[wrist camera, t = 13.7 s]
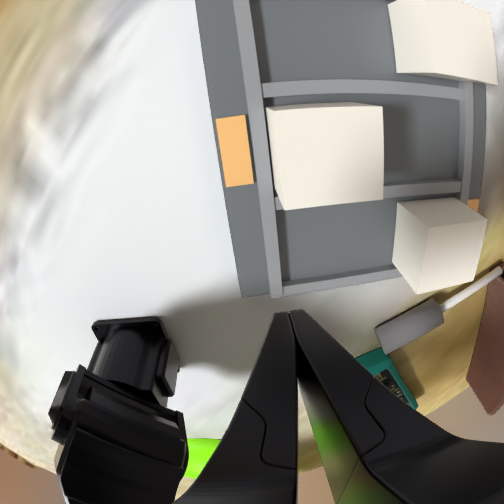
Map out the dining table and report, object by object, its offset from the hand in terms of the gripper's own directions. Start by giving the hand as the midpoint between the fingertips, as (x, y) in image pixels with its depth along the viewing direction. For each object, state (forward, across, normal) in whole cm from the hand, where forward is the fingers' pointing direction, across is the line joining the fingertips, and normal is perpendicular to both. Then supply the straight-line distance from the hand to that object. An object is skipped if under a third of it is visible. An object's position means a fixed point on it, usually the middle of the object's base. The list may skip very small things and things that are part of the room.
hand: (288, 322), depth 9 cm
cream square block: (+11, -12, -10) cm, 18 cm away
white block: (+11, -11, +3) cm, 16 cm away
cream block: (+11, -3, -3) cm, 12 cm away
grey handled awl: (+10, -14, +11) cm, 21 cm away
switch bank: (+12, -8, -3) cm, 14 cm away
